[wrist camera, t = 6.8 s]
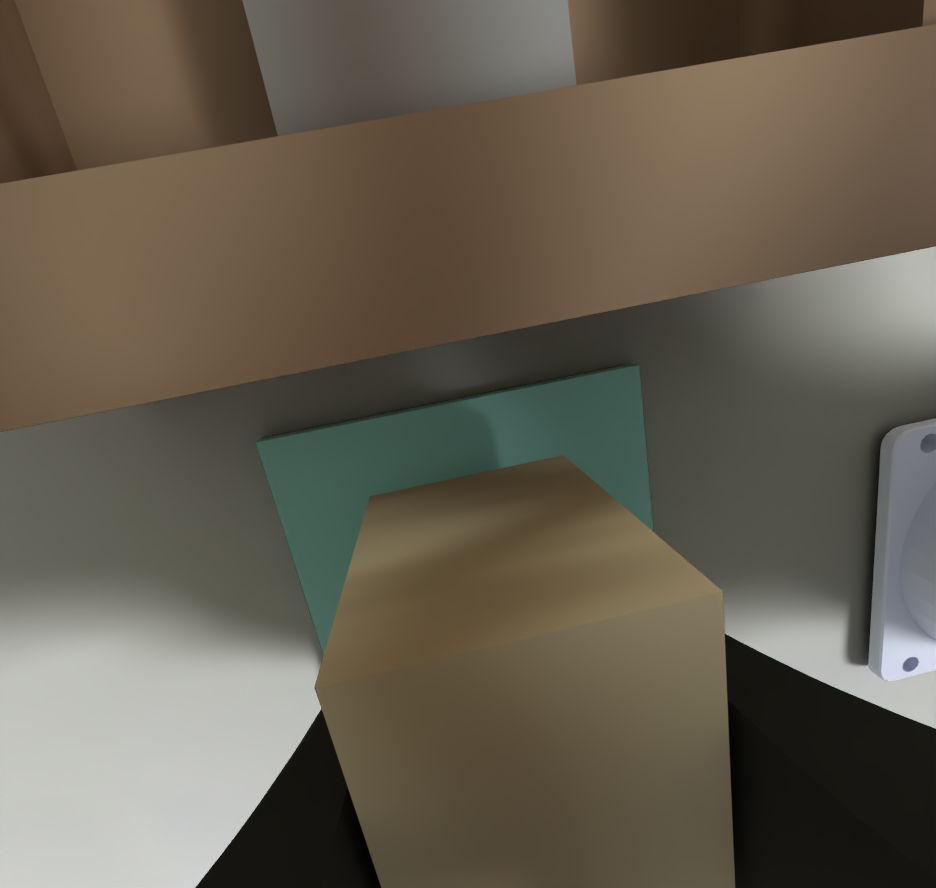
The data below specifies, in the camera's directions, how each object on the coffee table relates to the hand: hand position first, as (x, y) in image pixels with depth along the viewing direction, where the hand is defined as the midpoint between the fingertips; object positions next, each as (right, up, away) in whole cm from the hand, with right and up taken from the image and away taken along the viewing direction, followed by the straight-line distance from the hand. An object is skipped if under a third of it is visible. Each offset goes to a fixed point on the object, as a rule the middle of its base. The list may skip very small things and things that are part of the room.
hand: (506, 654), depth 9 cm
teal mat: (0, +1, +3) cm, 3 cm away
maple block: (0, +1, +1) cm, 1 cm away
